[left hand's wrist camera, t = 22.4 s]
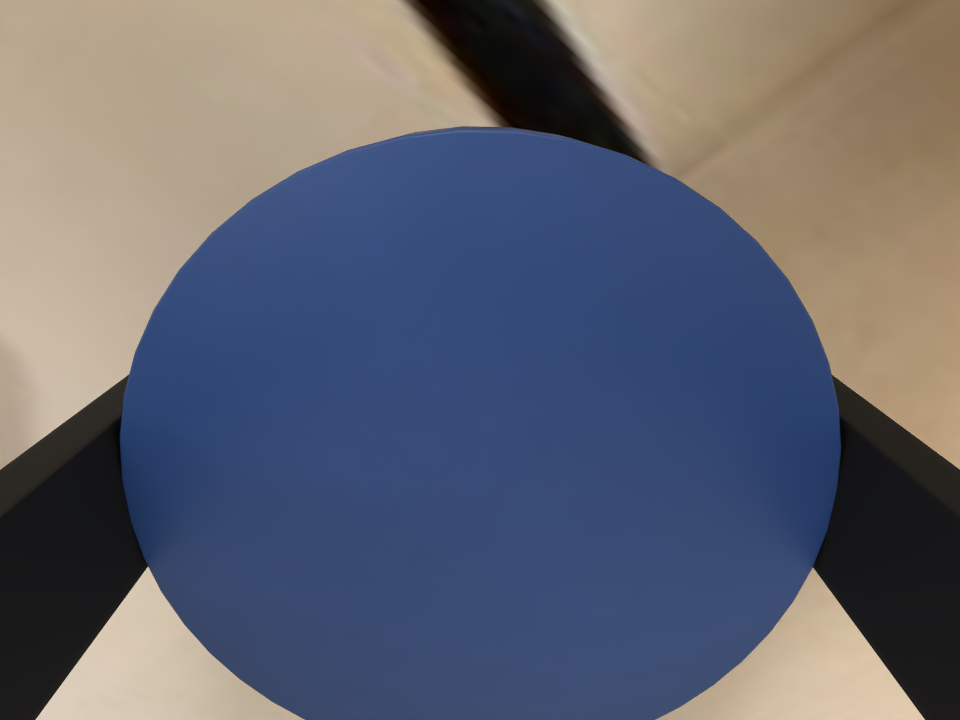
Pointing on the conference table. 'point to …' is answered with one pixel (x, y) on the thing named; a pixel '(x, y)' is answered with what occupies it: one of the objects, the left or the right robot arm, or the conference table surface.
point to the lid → (480, 436)
